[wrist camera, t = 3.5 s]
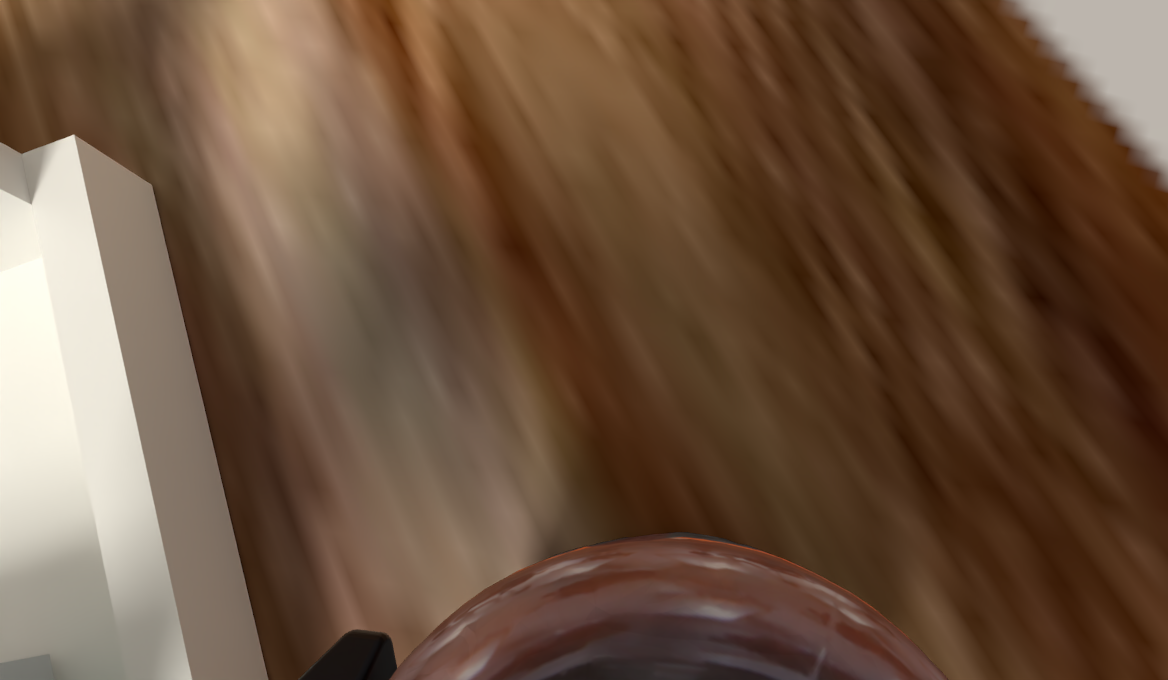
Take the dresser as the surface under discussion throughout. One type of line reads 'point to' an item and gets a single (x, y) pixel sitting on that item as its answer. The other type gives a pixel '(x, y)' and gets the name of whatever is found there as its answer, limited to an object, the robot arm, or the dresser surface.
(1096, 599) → the dresser surface
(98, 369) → the lane
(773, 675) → the supplement bottle
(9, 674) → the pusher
